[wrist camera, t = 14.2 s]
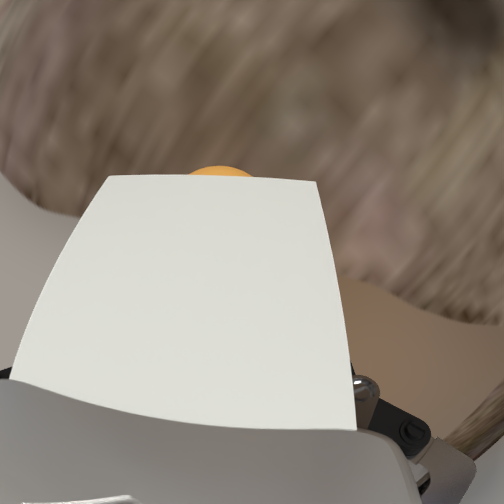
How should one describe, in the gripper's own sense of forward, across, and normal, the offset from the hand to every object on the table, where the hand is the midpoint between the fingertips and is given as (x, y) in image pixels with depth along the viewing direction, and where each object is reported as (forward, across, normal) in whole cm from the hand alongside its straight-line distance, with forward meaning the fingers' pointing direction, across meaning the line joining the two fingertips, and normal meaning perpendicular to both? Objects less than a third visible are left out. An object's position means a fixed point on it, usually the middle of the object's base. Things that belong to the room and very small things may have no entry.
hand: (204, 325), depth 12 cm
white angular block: (+2, 0, -2) cm, 3 cm away
